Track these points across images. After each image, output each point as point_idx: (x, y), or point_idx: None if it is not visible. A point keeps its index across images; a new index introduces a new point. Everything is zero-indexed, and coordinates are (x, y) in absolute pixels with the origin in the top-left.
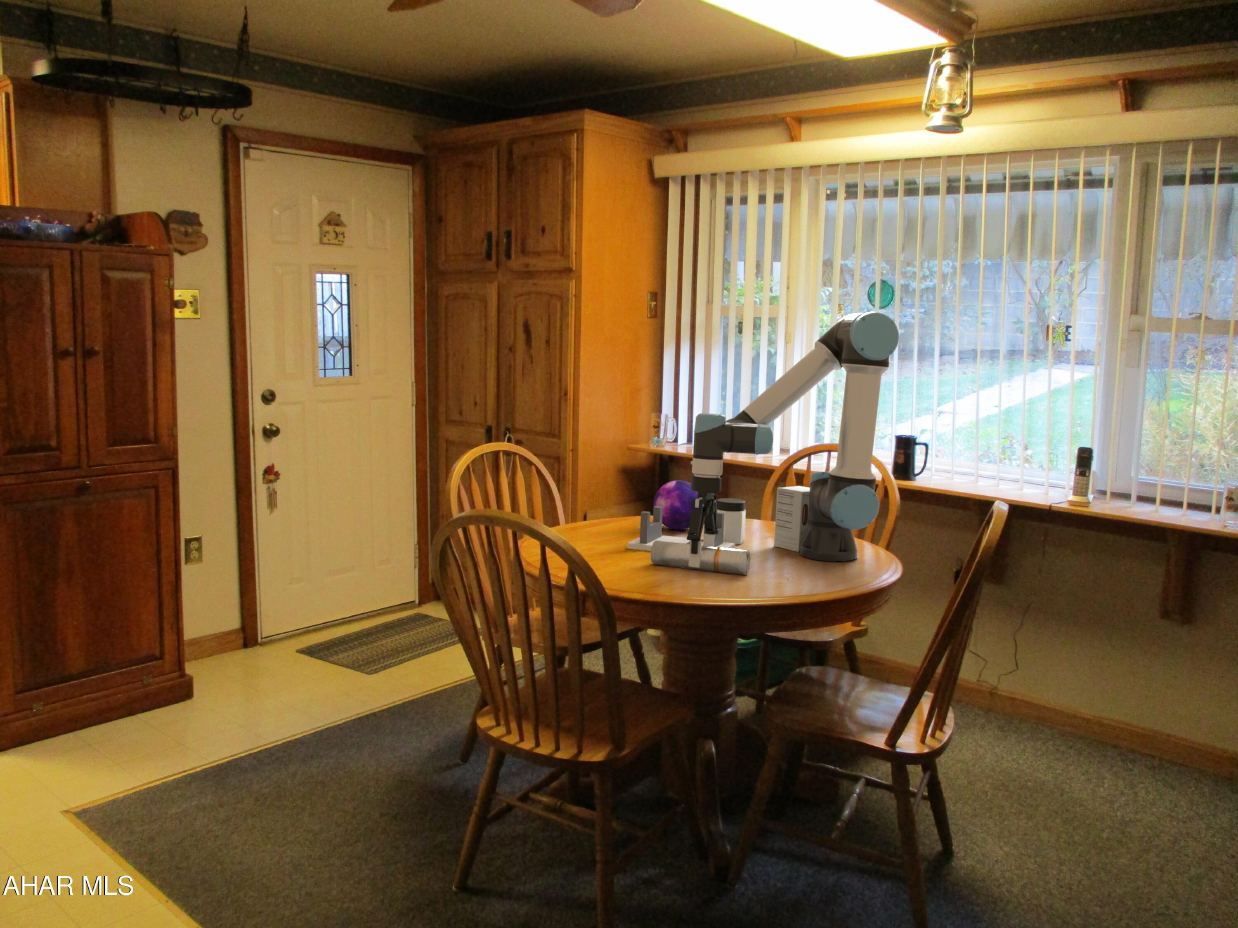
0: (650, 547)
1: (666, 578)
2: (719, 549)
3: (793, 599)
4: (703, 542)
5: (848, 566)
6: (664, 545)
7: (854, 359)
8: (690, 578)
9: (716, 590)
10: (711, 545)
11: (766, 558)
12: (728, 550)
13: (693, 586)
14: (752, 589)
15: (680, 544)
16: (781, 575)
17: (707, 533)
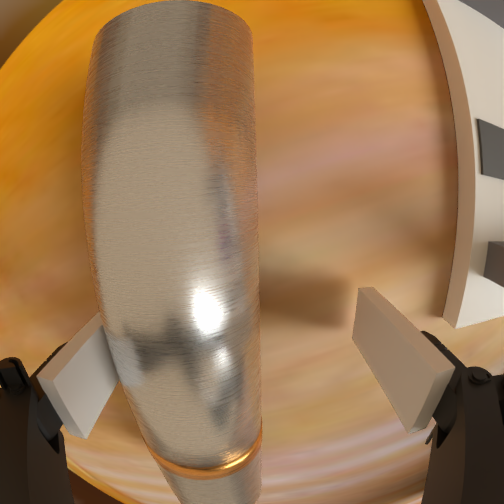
0: (434, 7)
1: (12, 246)
2: (168, 467)
3: (99, 486)
4: (402, 337)
5: (399, 500)
6: (88, 113)
7: None
8: (53, 321)
9: None
10: (382, 378)
11: None
12: (179, 487)
13: (12, 343)
14: (94, 453)
15: (111, 245)
16: (269, 491)
17: (448, 389)
